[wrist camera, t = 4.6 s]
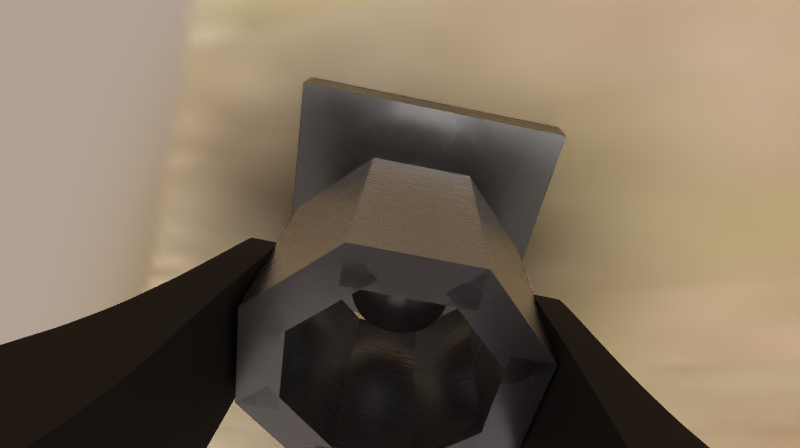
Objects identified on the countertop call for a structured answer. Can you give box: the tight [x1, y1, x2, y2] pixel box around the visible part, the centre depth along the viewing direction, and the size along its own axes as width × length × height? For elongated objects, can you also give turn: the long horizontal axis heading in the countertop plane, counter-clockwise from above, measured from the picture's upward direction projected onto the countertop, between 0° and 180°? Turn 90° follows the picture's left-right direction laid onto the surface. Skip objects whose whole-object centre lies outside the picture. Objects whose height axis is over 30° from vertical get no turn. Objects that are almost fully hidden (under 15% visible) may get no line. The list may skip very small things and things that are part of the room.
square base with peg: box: [292, 78, 566, 333], centre depth 13 cm, size 7×7×4 cm
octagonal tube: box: [235, 158, 557, 448], centre depth 10 cm, size 5×5×4 cm
